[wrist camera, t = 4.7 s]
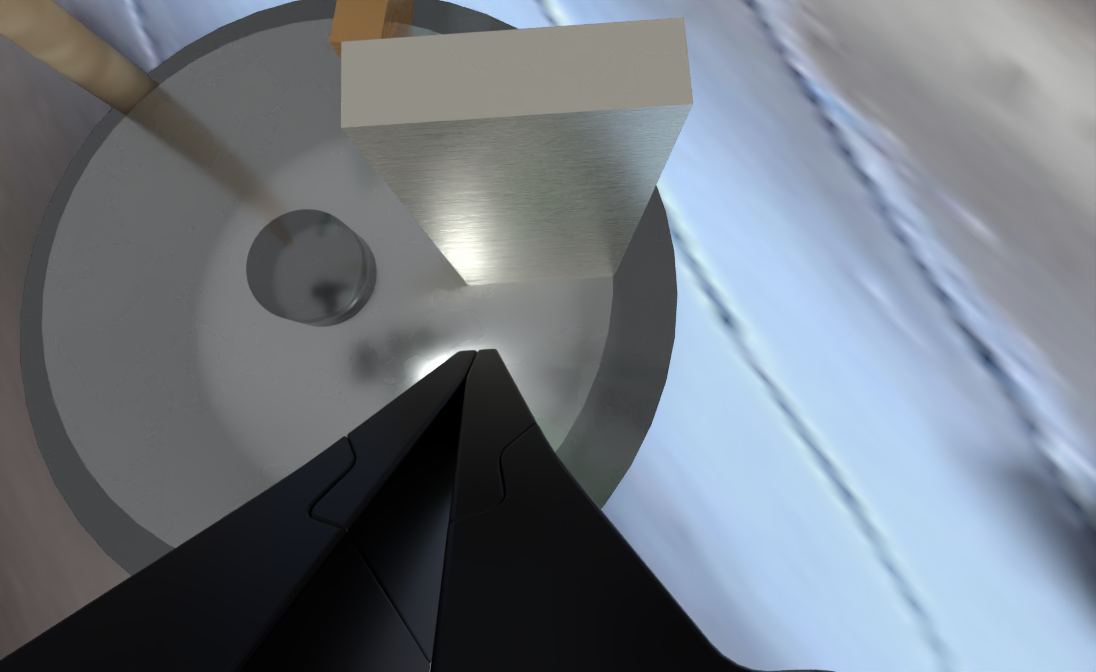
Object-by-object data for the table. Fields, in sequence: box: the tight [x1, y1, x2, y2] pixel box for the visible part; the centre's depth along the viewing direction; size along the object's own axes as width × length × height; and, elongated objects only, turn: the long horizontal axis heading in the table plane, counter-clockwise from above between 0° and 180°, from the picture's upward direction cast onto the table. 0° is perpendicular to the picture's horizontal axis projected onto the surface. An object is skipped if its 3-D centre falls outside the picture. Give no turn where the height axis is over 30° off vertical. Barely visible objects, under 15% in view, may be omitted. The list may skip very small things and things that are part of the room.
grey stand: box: [42, 0, 693, 548], centre depth 13 cm, size 22×24×11 cm
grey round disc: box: [20, 0, 677, 576], centre depth 19 cm, size 28×28×1 cm
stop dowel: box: [0, 0, 160, 116], centre depth 17 cm, size 2×2×6 cm
